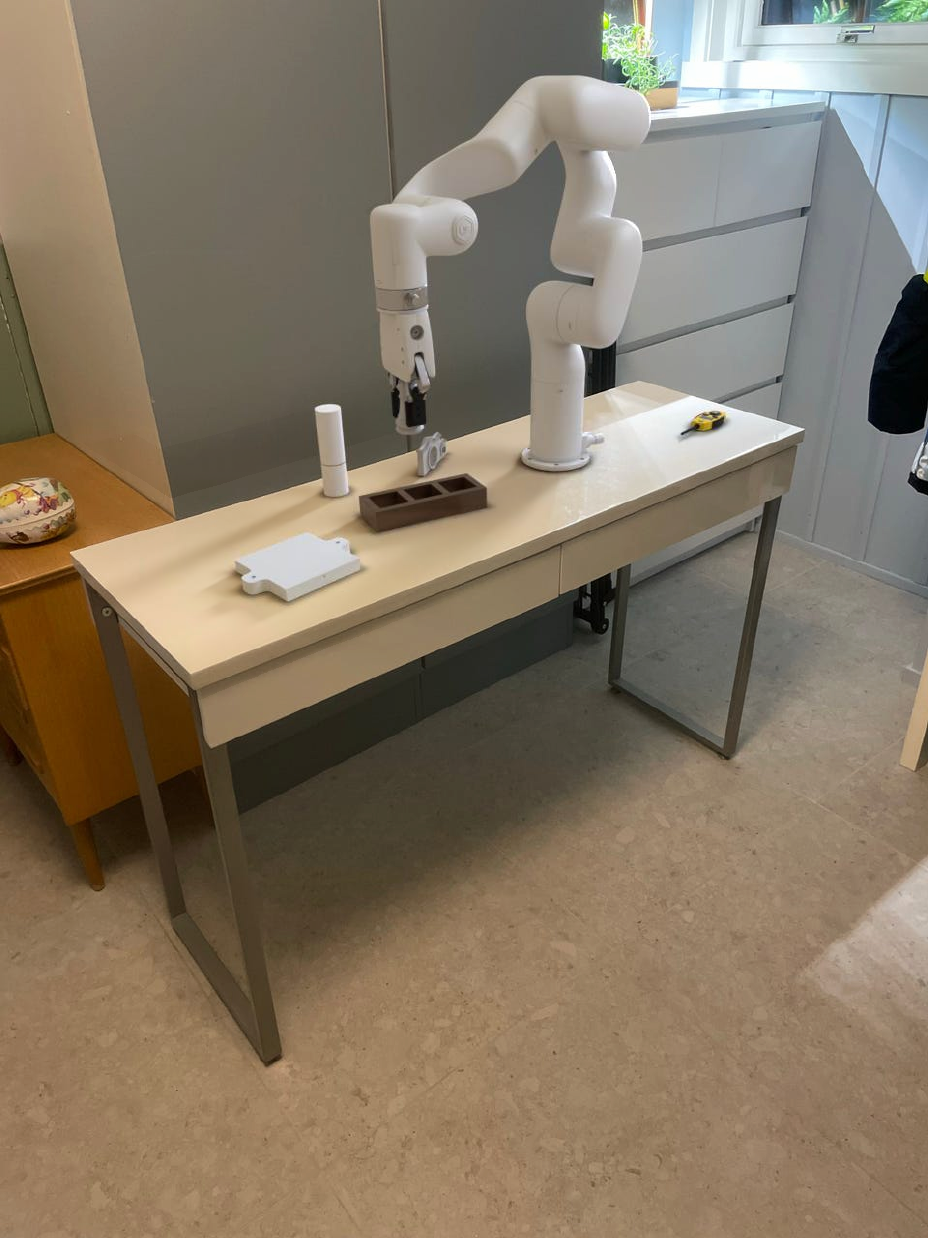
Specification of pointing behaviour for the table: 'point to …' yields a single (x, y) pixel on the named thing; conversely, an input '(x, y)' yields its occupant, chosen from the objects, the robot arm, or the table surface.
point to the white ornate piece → (430, 453)
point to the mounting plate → (296, 566)
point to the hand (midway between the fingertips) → (409, 419)
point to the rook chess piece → (401, 418)
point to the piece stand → (422, 502)
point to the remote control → (707, 421)
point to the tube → (331, 450)
